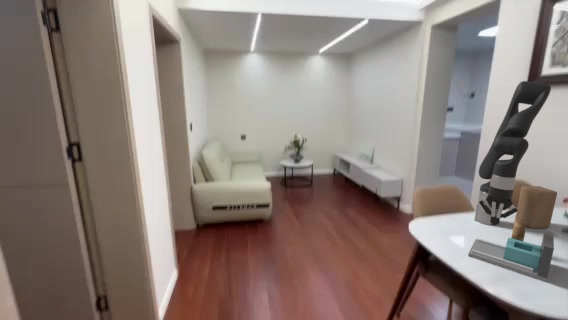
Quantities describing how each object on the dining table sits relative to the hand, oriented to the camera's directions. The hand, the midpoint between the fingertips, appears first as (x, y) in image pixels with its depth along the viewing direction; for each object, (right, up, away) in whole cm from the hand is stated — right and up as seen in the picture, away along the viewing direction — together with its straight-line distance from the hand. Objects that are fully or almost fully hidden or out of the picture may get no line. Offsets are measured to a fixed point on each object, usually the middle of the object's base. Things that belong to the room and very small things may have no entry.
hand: (494, 224), depth 109 cm
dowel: (+15, -12, +7) cm, 20 cm away
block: (+43, -7, +29) cm, 52 cm away
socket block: (+7, -13, -4) cm, 16 cm away
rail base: (+4, -14, -1) cm, 15 cm away
